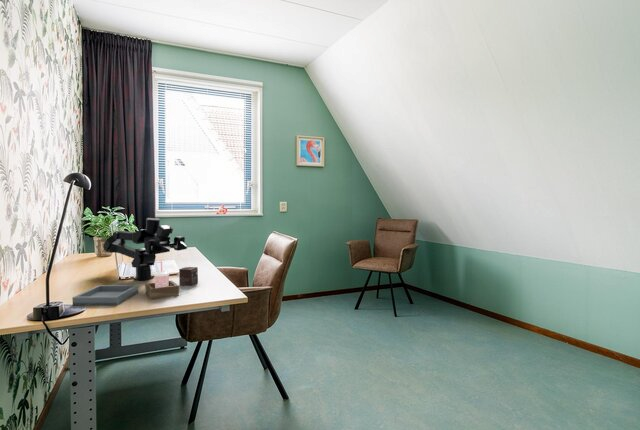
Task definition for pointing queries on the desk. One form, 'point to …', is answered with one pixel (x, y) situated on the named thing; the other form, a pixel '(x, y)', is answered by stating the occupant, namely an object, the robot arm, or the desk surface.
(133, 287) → the charcoal tray
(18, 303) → the desk surface
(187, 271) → the box
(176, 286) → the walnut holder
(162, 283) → the beverage cup
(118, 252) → the robot arm
